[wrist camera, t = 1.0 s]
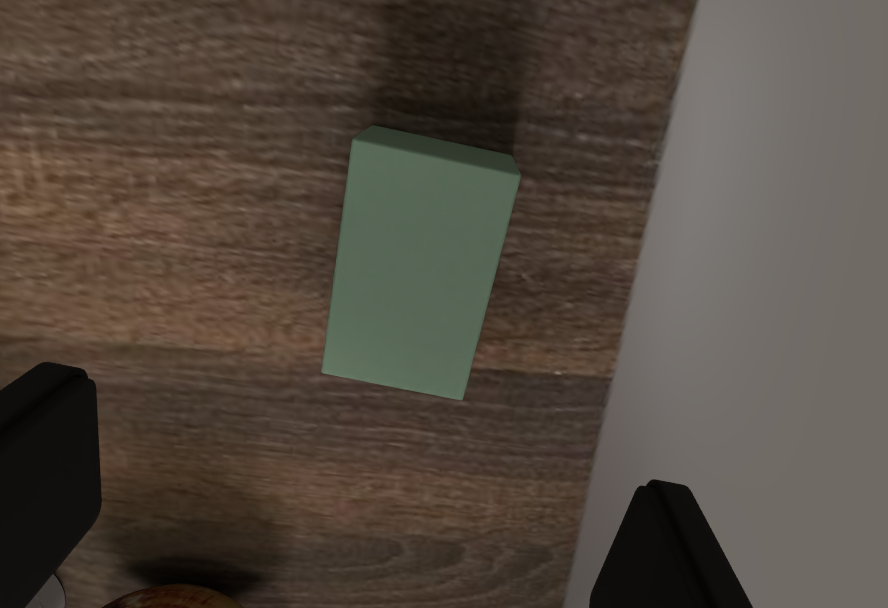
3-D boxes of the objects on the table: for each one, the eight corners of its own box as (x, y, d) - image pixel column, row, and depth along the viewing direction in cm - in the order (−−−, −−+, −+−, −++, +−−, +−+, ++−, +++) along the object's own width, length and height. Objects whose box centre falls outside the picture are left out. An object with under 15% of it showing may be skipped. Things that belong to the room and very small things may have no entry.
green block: (371, 124, 19) (351, 137, 16) (513, 155, 19) (522, 174, 16) (341, 328, 22) (320, 373, 19) (463, 353, 23) (462, 401, 19)
